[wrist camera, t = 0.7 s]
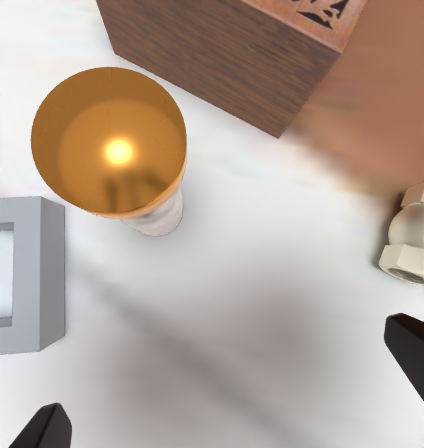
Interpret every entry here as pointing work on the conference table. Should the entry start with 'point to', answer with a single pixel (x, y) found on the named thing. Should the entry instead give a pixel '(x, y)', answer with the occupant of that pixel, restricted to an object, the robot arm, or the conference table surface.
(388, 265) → the valve
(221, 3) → the tissue box cover
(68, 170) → the gold-capped bottle
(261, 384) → the conference table surface
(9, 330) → the grey square hollow block
